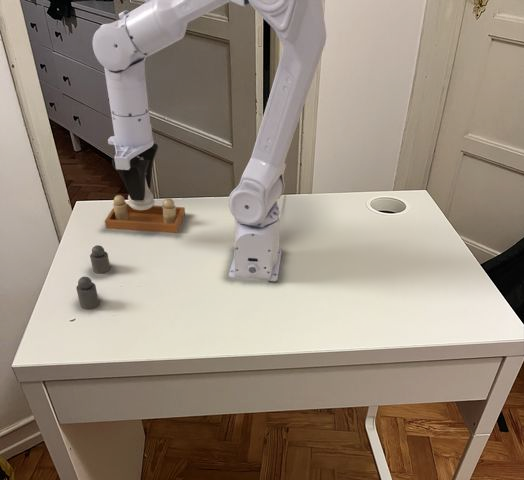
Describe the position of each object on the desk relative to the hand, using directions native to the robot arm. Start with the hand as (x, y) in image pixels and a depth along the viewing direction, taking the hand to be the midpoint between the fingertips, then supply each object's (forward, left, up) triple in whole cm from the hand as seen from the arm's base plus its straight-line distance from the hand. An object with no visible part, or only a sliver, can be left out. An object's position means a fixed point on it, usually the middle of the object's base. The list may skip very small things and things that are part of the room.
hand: (140, 194), depth 95 cm
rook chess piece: (0, 0, -2) cm, 2 cm away
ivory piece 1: (+6, +6, -8) cm, 12 cm away
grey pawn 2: (-11, +5, -9) cm, 15 cm away
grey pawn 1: (-20, +4, -9) cm, 22 cm away
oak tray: (+6, +2, -9) cm, 11 cm away
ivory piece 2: (+6, -3, -8) cm, 11 cm away
